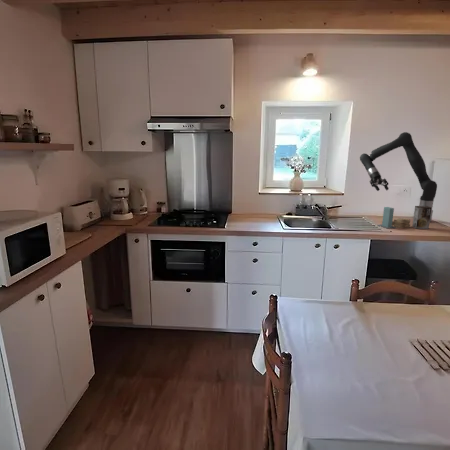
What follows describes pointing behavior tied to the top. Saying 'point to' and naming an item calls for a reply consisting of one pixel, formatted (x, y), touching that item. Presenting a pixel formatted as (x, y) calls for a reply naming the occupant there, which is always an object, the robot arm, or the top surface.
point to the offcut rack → (401, 223)
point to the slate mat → (387, 227)
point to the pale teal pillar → (387, 216)
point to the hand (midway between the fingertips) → (383, 190)
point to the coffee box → (421, 217)
